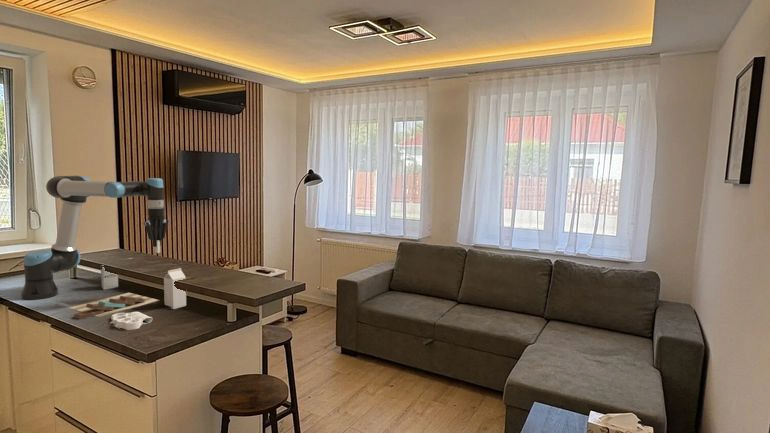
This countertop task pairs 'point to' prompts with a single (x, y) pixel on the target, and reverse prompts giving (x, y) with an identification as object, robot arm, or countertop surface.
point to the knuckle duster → (129, 320)
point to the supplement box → (108, 279)
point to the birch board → (116, 309)
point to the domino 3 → (110, 304)
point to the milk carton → (174, 289)
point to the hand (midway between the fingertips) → (157, 252)
